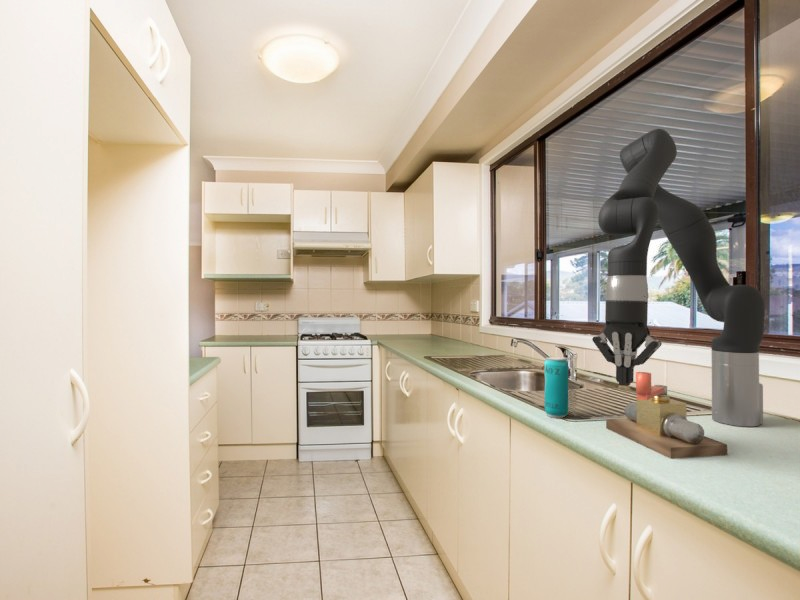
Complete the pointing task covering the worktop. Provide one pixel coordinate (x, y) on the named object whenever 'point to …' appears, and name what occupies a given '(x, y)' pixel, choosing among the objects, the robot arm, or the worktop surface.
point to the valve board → (665, 429)
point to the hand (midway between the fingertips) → (624, 385)
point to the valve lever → (647, 387)
